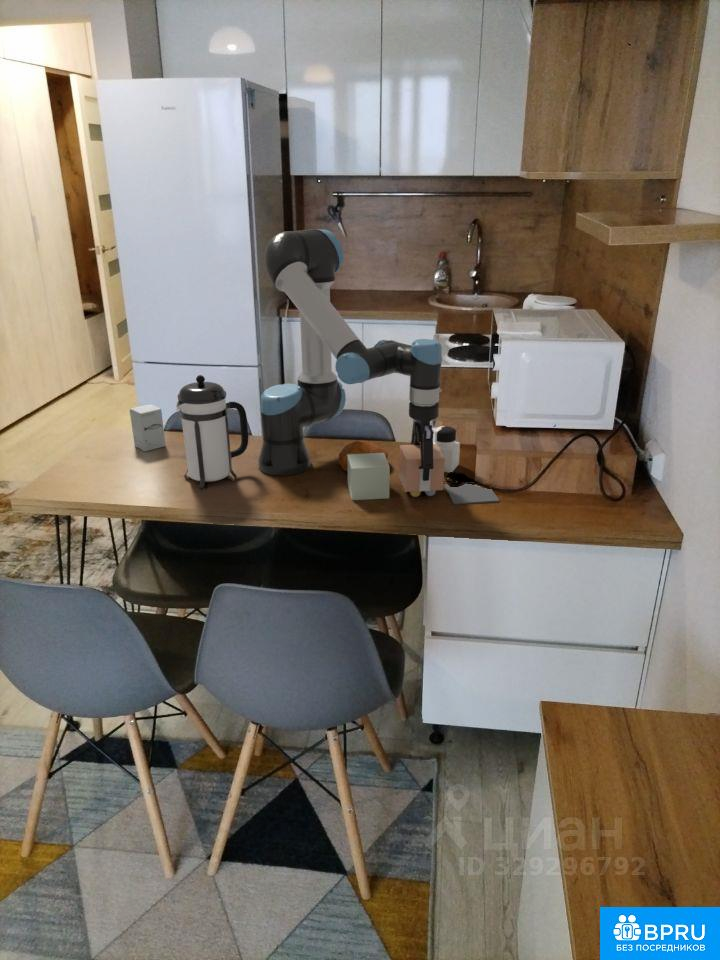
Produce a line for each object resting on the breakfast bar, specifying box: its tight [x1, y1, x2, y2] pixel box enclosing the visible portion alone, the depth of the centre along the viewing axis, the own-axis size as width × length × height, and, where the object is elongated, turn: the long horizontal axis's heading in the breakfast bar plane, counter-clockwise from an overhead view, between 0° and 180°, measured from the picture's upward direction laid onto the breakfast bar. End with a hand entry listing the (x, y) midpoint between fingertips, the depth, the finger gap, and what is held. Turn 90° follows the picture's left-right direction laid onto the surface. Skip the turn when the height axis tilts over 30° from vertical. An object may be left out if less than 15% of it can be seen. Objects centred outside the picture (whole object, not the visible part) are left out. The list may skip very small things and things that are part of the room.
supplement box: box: [129, 403, 167, 453], centre depth 216 cm, size 7×7×13 cm
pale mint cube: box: [347, 453, 391, 501], centre depth 185 cm, size 10×10×9 cm
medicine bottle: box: [433, 425, 461, 474], centre depth 199 cm, size 7×7×12 cm
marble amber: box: [409, 491, 422, 498], centre depth 183 cm, size 3×3×3 cm
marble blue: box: [424, 490, 437, 497], centre depth 183 cm, size 3×3×3 cm
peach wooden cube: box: [398, 444, 445, 493], centre depth 183 cm, size 10×10×9 cm
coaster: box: [443, 482, 500, 505], centre depth 185 cm, size 12×12×1 cm
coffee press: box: [174, 374, 249, 490], centre depth 190 cm, size 17×16×30 cm
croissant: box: [338, 440, 389, 473], centre depth 202 cm, size 14×16×8 cm
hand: (420, 481), depth 184 cm, fingers closed on peach wooden cube, 10 cm apart
